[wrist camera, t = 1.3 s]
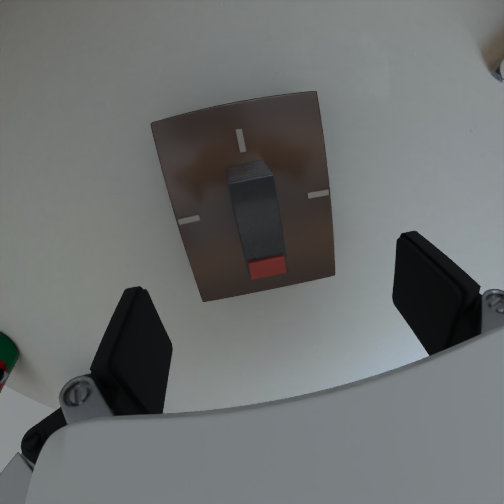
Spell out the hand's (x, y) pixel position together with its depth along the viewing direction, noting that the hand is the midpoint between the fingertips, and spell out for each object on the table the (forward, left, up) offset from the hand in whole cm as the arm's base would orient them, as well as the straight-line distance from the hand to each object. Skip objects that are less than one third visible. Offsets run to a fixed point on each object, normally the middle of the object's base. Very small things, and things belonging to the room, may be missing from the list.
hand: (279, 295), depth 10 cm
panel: (0, 0, -12) cm, 12 cm away
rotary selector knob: (0, 0, -9) cm, 9 cm away
